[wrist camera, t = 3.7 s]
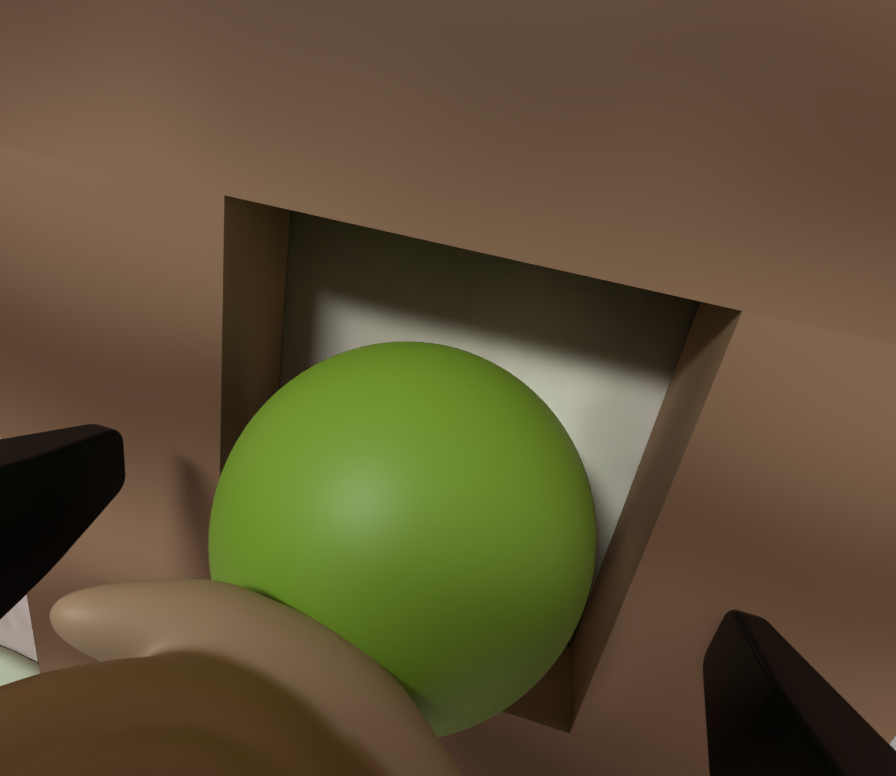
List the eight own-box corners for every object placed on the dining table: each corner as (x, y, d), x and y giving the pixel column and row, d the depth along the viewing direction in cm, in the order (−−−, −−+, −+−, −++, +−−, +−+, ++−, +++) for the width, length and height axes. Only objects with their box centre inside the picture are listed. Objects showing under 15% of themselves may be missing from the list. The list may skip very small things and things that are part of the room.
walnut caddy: (717, 829, 13) (739, 937, 11) (106, 621, 15) (42, 684, 13) (1228, 31, 6) (1479, -21, 5) (35, -144, 9) (-110, -225, 7)
